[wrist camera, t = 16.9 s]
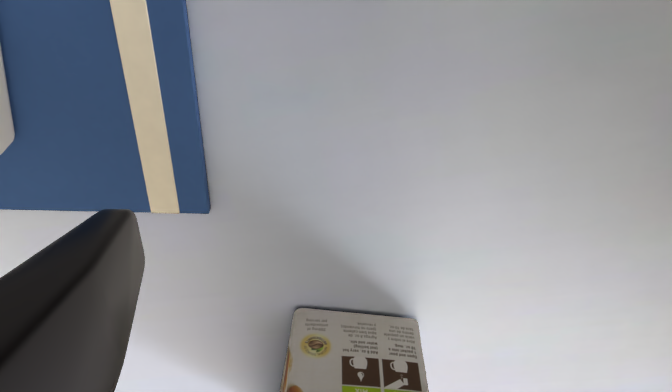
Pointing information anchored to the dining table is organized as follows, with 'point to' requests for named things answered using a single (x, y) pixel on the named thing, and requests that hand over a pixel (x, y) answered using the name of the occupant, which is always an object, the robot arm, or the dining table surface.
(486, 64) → the dining table surface
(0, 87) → the medicine bottle
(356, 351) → the coffee box
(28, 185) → the cloth
